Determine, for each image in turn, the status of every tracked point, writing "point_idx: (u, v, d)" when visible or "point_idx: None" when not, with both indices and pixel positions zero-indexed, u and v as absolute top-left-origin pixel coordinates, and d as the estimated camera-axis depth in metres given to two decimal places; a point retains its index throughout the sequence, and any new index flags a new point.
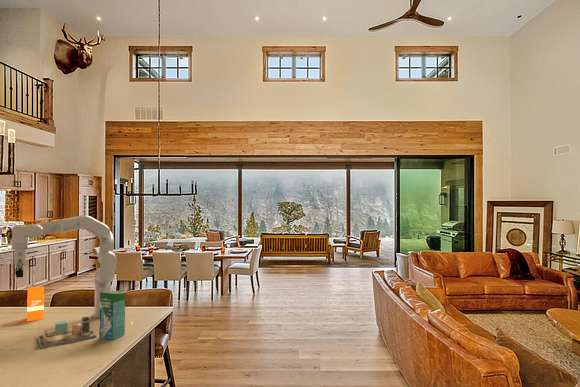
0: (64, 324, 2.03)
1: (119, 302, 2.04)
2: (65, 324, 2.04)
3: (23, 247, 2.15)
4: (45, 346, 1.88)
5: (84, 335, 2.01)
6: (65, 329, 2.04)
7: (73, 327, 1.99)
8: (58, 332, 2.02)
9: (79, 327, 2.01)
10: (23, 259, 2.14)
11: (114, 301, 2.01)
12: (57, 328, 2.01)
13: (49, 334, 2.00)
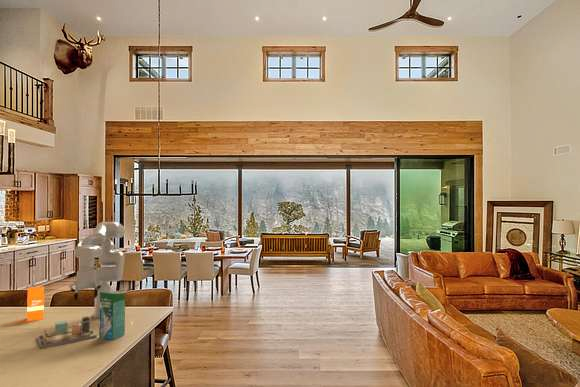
0: (64, 324, 2.03)
1: (119, 302, 2.04)
2: (65, 324, 2.04)
3: None
4: (45, 346, 1.88)
5: (84, 335, 2.01)
6: (65, 329, 2.04)
7: (73, 327, 1.99)
8: (58, 332, 2.02)
9: (79, 327, 2.01)
10: None
11: (114, 301, 2.01)
12: (57, 328, 2.01)
13: (49, 334, 2.00)
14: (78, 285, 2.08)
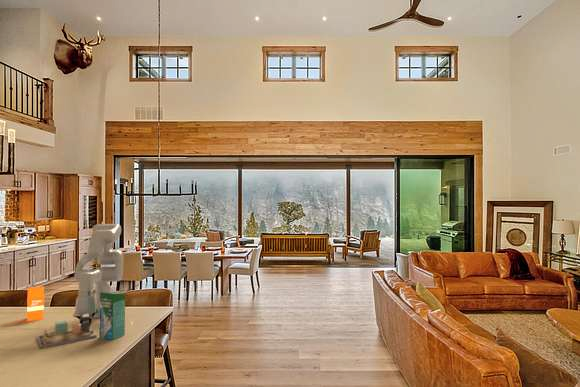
0: (64, 324, 2.03)
1: (119, 302, 2.04)
2: (65, 324, 2.04)
3: None
4: (45, 346, 1.88)
5: (84, 335, 2.01)
6: (65, 329, 2.04)
7: (73, 327, 1.99)
8: (58, 332, 2.02)
9: (79, 327, 2.01)
10: None
11: (114, 301, 2.01)
12: (57, 328, 2.01)
13: (49, 334, 2.00)
14: (78, 311, 2.08)
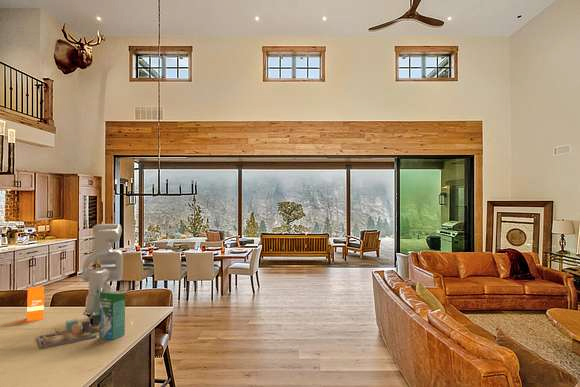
0: (75, 322, 2.07)
1: (119, 302, 2.04)
2: (76, 322, 2.07)
3: None
4: (45, 346, 1.88)
5: (84, 335, 2.01)
6: None
7: (73, 327, 1.99)
8: (69, 330, 2.05)
9: (79, 327, 2.01)
10: None
11: (114, 301, 2.01)
12: (68, 326, 2.05)
13: (60, 332, 2.04)
14: (88, 309, 2.11)
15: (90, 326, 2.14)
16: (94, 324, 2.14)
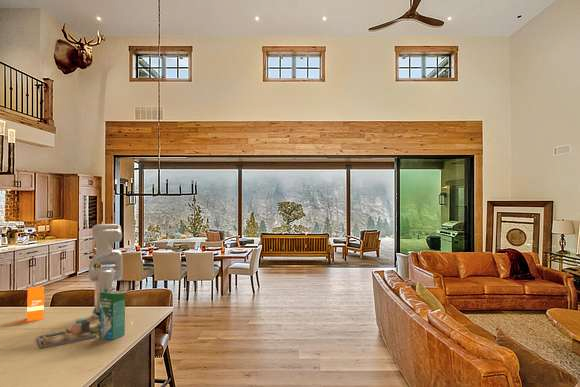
0: (84, 320, 2.10)
1: (119, 302, 2.04)
2: (85, 320, 2.10)
3: None
4: (45, 346, 1.88)
5: (84, 335, 2.01)
6: None
7: (73, 327, 1.99)
8: None
9: (79, 327, 2.01)
10: None
11: (114, 301, 2.01)
12: None
13: (70, 330, 2.07)
14: (97, 308, 2.14)
15: (99, 324, 2.17)
16: None
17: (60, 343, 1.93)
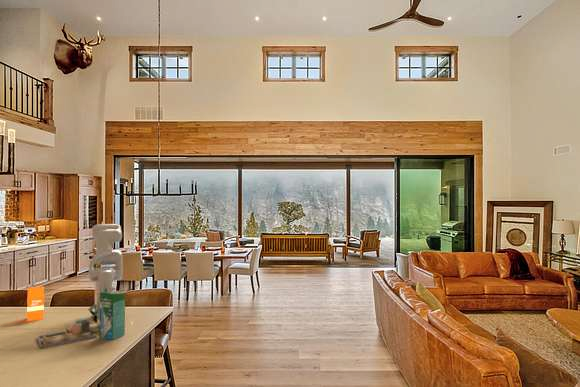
0: (84, 320, 2.10)
1: (119, 302, 2.04)
2: (85, 320, 2.10)
3: None
4: (45, 346, 1.88)
5: (84, 335, 2.01)
6: None
7: (73, 327, 1.99)
8: None
9: (79, 327, 2.01)
10: None
11: (114, 301, 2.01)
12: None
13: (70, 330, 2.07)
14: (97, 308, 2.14)
15: (99, 324, 2.17)
16: None
17: (60, 343, 1.93)
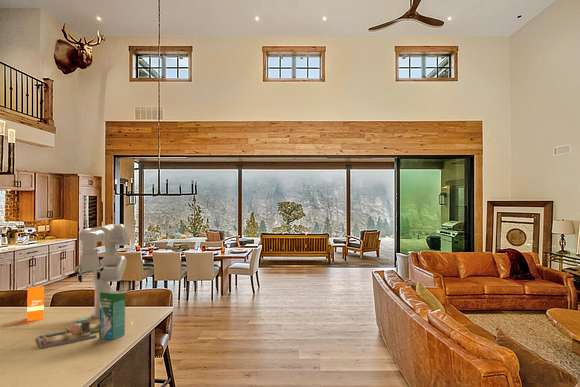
0: (84, 320, 2.10)
1: (119, 302, 2.04)
2: (85, 320, 2.10)
3: None
4: (45, 346, 1.88)
5: (84, 335, 2.01)
6: None
7: (73, 327, 1.99)
8: None
9: (79, 327, 2.01)
10: None
11: (114, 301, 2.01)
12: None
13: (70, 330, 2.07)
14: (82, 268, 2.19)
15: (99, 324, 2.17)
16: None
17: (60, 343, 1.93)
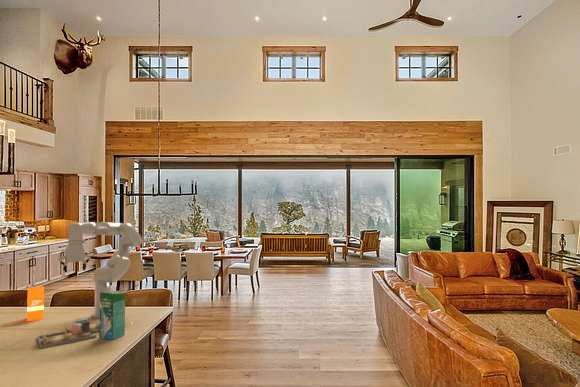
0: (84, 320, 2.10)
1: (119, 302, 2.04)
2: (85, 320, 2.10)
3: None
4: (45, 346, 1.88)
5: (84, 335, 2.01)
6: None
7: (73, 327, 1.99)
8: None
9: (79, 327, 2.01)
10: None
11: (114, 301, 2.01)
12: None
13: (70, 330, 2.07)
14: (67, 258, 2.22)
15: (99, 324, 2.17)
16: None
17: (60, 343, 1.93)
